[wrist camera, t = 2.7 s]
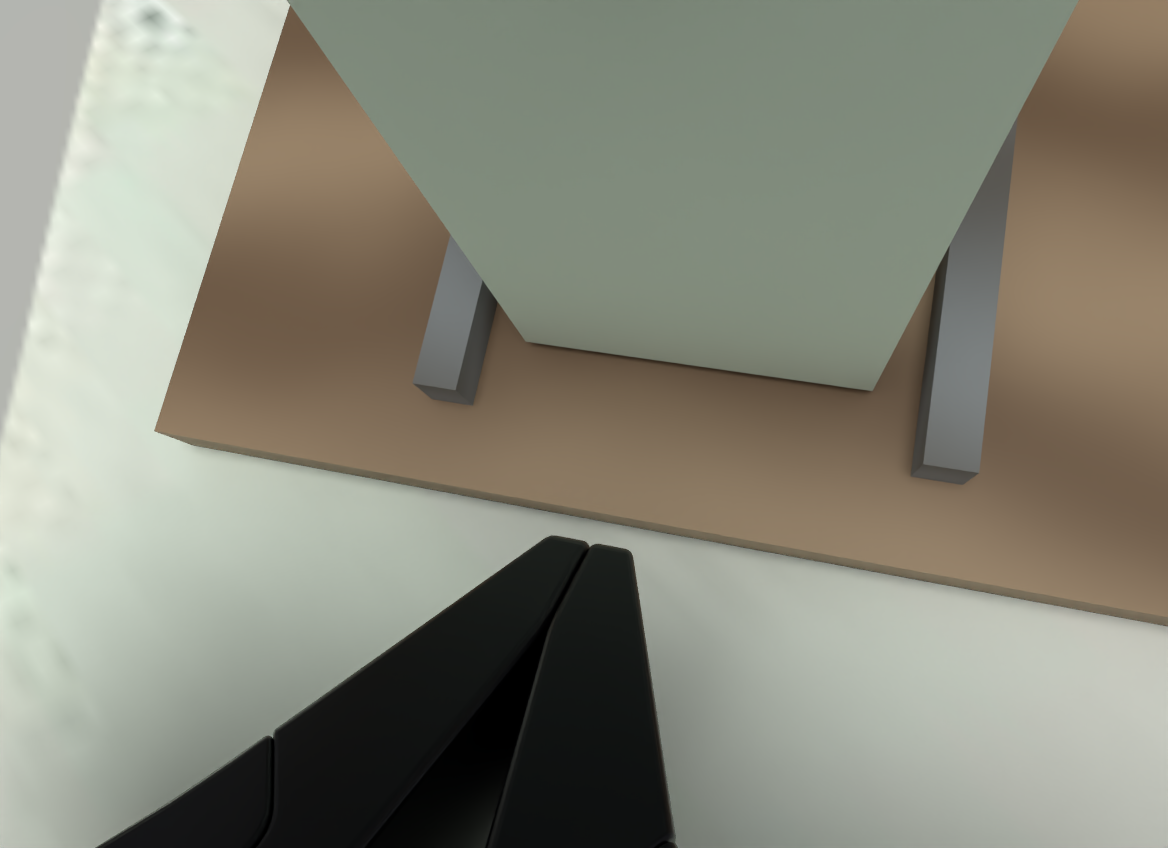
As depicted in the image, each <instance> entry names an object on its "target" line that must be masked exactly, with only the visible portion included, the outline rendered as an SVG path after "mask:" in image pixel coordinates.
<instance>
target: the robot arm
mask: <svg viewBox="0 0 1168 848" xmlns="http://www.w3.org/2000/svg"><path fill="white" fill-rule="evenodd" d="M96 848H678V847H677V845H676V844H675V830H674V823H673V817H672V810H671V804H670V797H669V790H668V784H667V777H666V771H665V764H664V758H663V751H662V744H661V738H660V731H659V725H658V718H657V711H656V705H655V698H654V692H653V685H652V679H651V672H650V665H649V659H648V652H647V646H646V639H645V633H644V626H643V619H642V613H641V606H640V600H639V593H638V587H637V580H636V573H635V567H634V560H633V555H632V553H631V552H630V551H629V550H627V549H623V548H618V547H612V546H607V545H602V544H594V545H592V546H591V547H589V545H588V544H587V543H586V542H585V541H581V540H576V539H571V538H565V537H560V536H549V537H546V538H545V539H543V540H542V541H540V542H539V543H538V544H536V545H535V546H533V547H532V548H531V549H529V550H528V551H526V552H525V553H523V554H522V555H521V556H519V557H518V558H516V559H515V560H514V561H512V562H511V563H509V564H508V565H507V566H505V567H504V568H502V569H501V570H499V571H498V572H497V573H495V574H494V575H492V576H491V577H490V578H488V579H487V580H485V581H484V582H483V583H481V584H480V585H478V586H477V587H476V588H474V589H473V590H471V591H470V592H468V593H467V594H466V595H464V596H463V597H461V598H460V599H459V600H457V601H456V602H454V603H453V604H452V605H450V606H449V607H447V608H446V609H445V610H443V611H442V612H440V613H439V614H437V615H436V616H435V617H433V618H432V619H430V620H429V621H428V622H426V623H425V624H423V625H422V626H421V627H419V628H418V629H416V630H415V631H413V632H412V633H411V634H409V635H408V636H406V637H405V638H404V639H402V640H401V641H399V642H398V643H397V644H395V645H394V646H392V647H391V648H390V649H388V650H387V651H385V652H384V653H382V654H381V655H380V656H378V657H377V658H375V659H374V660H373V661H371V662H370V663H368V664H367V665H366V666H364V667H363V668H361V669H360V670H358V671H357V672H356V673H354V674H353V675H351V676H350V677H349V678H347V679H346V680H344V681H343V682H342V683H340V684H339V685H337V686H336V687H335V688H333V689H332V690H330V691H329V692H327V693H326V694H325V695H323V696H322V697H320V698H319V699H318V700H316V701H315V702H313V703H312V704H311V705H309V706H308V707H306V708H305V709H304V710H302V711H301V712H299V713H298V714H296V715H295V716H294V717H292V718H291V719H289V720H288V721H287V722H285V723H284V724H282V725H281V726H280V727H278V728H277V729H276V730H275V731H274V733H273V738H272V737H270V736H265V737H263V738H262V739H261V740H259V741H258V742H256V743H255V744H254V745H252V746H251V747H249V748H248V749H247V750H245V751H244V752H242V753H241V754H239V755H238V756H237V757H235V758H234V759H232V760H231V761H230V762H228V763H227V764H225V765H224V766H222V767H221V768H219V769H218V770H216V771H215V772H213V773H212V774H210V775H209V776H207V777H206V778H204V779H203V780H202V781H200V782H199V783H197V784H196V785H194V786H193V787H191V788H190V789H188V790H187V791H185V792H184V793H182V794H181V795H179V796H178V797H176V798H175V799H173V800H172V801H170V802H169V803H167V804H166V805H164V806H162V807H161V808H159V809H158V810H156V811H154V812H153V813H151V814H149V815H148V816H146V817H145V818H143V819H141V820H140V821H138V822H136V823H135V824H133V825H132V826H130V827H128V828H127V829H125V830H124V831H122V832H120V833H119V834H117V835H115V836H114V837H112V838H111V839H109V840H107V841H106V842H104V843H102V844H101V845H99V846H98V847H96Z"/></svg>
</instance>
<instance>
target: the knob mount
mask: <svg viewBox="0 0 1168 848" xmlns="http://www.w3.org/2000/svg"><path fill="white" fill-rule="evenodd" d="M154 431H155V432H158V433H161V434H164V435H166V436H169V437H172V438H175V439H177V440H180V441H183V442H185V443H188V444H191V445H195V446H201V447H206V448H211V449H217V450H222V451H228V452H233V453H238V454H244V455H249V456H254V457H260V458H265V459H271V460H276V461H281V462H287V463H292V464H298V465H303V466H308V467H314V468H319V469H324V470H330V471H335V472H341V473H346V474H351V475H357V476H362V477H368V478H373V479H378V480H384V481H389V482H394V483H400V484H405V485H411V486H416V487H421V488H427V489H432V490H438V491H443V492H448V493H454V494H459V495H464V496H470V497H475V498H481V499H486V500H491V501H497V502H502V503H508V504H513V505H518V506H524V507H529V508H534V509H540V510H545V511H551V512H556V513H561V514H567V515H572V516H578V517H583V518H588V519H594V520H599V521H604V522H610V523H615V524H621V525H626V526H631V527H637V528H642V529H647V530H653V531H658V532H664V533H669V534H674V535H680V536H685V537H691V538H696V539H701V540H707V541H712V542H717V543H723V544H728V545H734V546H739V547H744V548H750V549H755V550H761V551H766V552H771V553H777V554H782V555H787V556H793V557H798V558H804V559H809V560H814V561H820V562H825V563H831V564H836V565H841V566H847V567H852V568H857V569H863V570H868V571H874V572H879V573H884V574H890V575H895V576H901V577H906V578H911V579H917V580H922V581H927V582H933V583H938V584H944V585H949V586H954V587H960V588H965V589H971V590H976V591H981V592H987V593H992V594H997V595H1003V596H1008V597H1014V598H1019V599H1024V600H1030V601H1035V602H1041V603H1046V604H1051V605H1057V606H1062V607H1067V608H1073V609H1078V610H1084V611H1089V612H1094V613H1100V614H1105V615H1111V616H1116V617H1121V618H1127V619H1132V620H1137V621H1143V622H1148V623H1154V624H1159V625H1164V626H1168V0H1079V1H1078V3H1077V4H1076V6H1075V8H1074V10H1073V12H1072V14H1071V16H1070V18H1069V20H1068V21H1067V23H1066V25H1065V27H1064V29H1063V31H1062V33H1061V35H1060V37H1059V39H1058V40H1057V42H1056V44H1055V46H1054V48H1053V50H1052V52H1051V54H1050V56H1049V57H1048V59H1047V61H1046V63H1045V65H1044V67H1043V69H1042V71H1041V73H1040V75H1039V76H1038V78H1037V80H1036V82H1035V84H1034V86H1033V88H1032V90H1031V92H1030V94H1029V95H1028V97H1027V99H1026V101H1025V103H1024V105H1023V107H1022V109H1021V111H1020V112H1019V114H1018V116H1017V118H1016V120H1015V122H1014V124H1013V126H1012V128H1011V130H1010V131H1009V133H1008V135H1007V137H1006V139H1005V141H1004V143H1003V145H1002V147H1001V148H1000V150H999V152H998V154H997V156H996V158H995V160H994V162H993V164H992V166H991V167H990V169H989V171H988V173H987V175H986V177H985V179H984V181H983V183H982V184H981V186H980V188H979V190H978V192H977V194H976V196H975V198H974V200H973V202H972V203H971V205H970V207H969V209H968V211H967V213H966V215H965V217H964V219H963V220H962V222H961V224H960V226H959V228H958V230H957V232H956V234H955V236H954V238H953V239H952V241H951V243H950V245H949V247H948V249H947V251H946V253H945V255H944V256H943V258H942V260H941V262H940V264H939V266H938V268H937V270H936V272H935V274H934V275H933V277H932V279H931V281H930V283H929V285H928V287H927V289H926V291H925V292H924V294H923V296H922V298H921V300H920V302H919V304H918V306H917V308H916V310H915V311H914V313H913V315H912V317H911V319H910V321H909V323H908V325H907V327H906V328H905V330H904V332H903V334H902V336H901V338H900V340H899V342H898V344H897V346H896V347H895V349H894V351H893V353H892V355H891V357H890V359H889V361H888V363H887V364H886V366H885V368H884V370H883V372H882V374H881V376H880V378H879V380H878V382H877V383H876V385H875V387H874V389H873V391H868V390H861V389H854V388H847V387H840V386H833V385H826V384H819V383H812V382H805V381H798V380H791V379H784V378H777V377H770V376H763V375H756V374H749V373H742V372H735V371H728V370H721V369H714V368H707V367H700V366H693V365H686V364H679V363H672V362H665V361H658V360H651V359H644V358H637V357H630V356H623V355H616V354H609V353H602V352H595V351H588V350H581V349H574V348H567V347H560V346H553V345H546V344H539V343H532V342H526V341H525V340H524V339H523V337H522V336H521V334H520V333H519V331H518V330H517V329H516V327H515V326H514V324H513V323H512V321H511V320H510V319H509V317H508V316H507V314H506V313H505V311H504V310H503V308H502V307H501V306H500V304H499V303H498V301H497V300H496V298H495V297H494V296H493V294H492V293H491V291H490V290H489V288H488V287H487V286H486V284H485V283H484V281H483V280H482V278H481V277H480V276H479V274H478V273H477V271H476V270H475V268H474V267H473V266H472V264H471V263H470V261H469V260H468V258H467V257H466V256H465V254H464V253H463V251H462V250H461V248H460V247H459V246H458V244H457V243H456V241H455V240H454V238H453V237H452V236H451V234H450V233H449V231H448V230H447V228H446V227H445V226H444V224H443V223H442V221H441V220H440V218H439V217H438V216H437V214H436V213H435V211H434V210H433V208H432V207H431V206H430V204H429V203H428V201H427V200H426V198H425V197H424V196H423V194H422V193H421V191H420V190H419V188H418V187H417V185H416V184H415V183H414V181H413V180H412V178H411V177H410V175H409V174H408V173H407V171H406V170H405V168H404V167H403V165H402V164H401V163H400V161H399V160H398V158H397V157H396V155H395V154H394V153H393V151H392V150H391V148H390V147H389V145H388V144H387V143H386V141H385V140H384V138H383V137H382V135H381V134H380V133H379V131H378V130H377V128H376V127H375V125H374V124H373V123H372V121H371V120H370V118H369V117H368V115H367V114H366V113H365V111H364V110H363V108H362V107H361V105H360V104H359V103H358V101H357V100H356V98H355V97H354V95H353V94H352V93H351V91H350V90H349V88H348V87H347V85H346V84H345V83H344V81H343V80H342V78H341V77H340V75H339V74H338V72H337V71H336V70H335V68H334V67H333V65H332V64H331V62H330V61H329V60H328V58H327V57H326V55H325V54H324V52H323V51H322V50H321V48H320V47H319V45H318V44H317V42H316V41H315V40H314V38H313V37H312V35H311V34H310V32H309V31H308V30H307V28H306V27H305V25H304V24H303V22H302V21H301V20H300V18H299V17H298V15H297V14H296V12H295V11H294V10H293V8H292V7H291V5H290V8H289V11H288V14H287V17H286V20H285V23H284V26H283V29H282V33H281V36H280V39H279V42H278V45H277V48H276V51H275V55H274V58H273V61H272V64H271V67H270V70H269V73H268V76H267V80H266V83H265V86H264V89H263V92H262V95H261V98H260V101H259V105H258V108H257V111H256V114H255V117H254V120H253V123H252V127H251V130H250V133H249V136H248V139H247V142H246V145H245V148H244V152H243V155H242V158H241V161H240V164H239V167H238V170H237V174H236V177H235V180H234V183H233V186H232V189H231V192H230V195H229V199H228V202H227V205H226V208H225V211H224V214H223V217H222V221H221V224H220V227H219V230H218V233H217V236H216V239H215V242H214V246H213V249H212V252H211V255H210V258H209V261H208V264H207V268H206V271H205V274H204V277H203V280H202V283H201V286H200V289H199V293H198V296H197V299H196V302H195V305H194V308H193V311H192V315H191V318H190V321H189V324H188V327H187V330H186V333H185V336H184V340H183V343H182V346H181V349H180V352H179V355H178V358H177V362H176V365H175V368H174V371H173V374H172V377H171V380H170V383H169V387H168V390H167V393H166V396H165V399H164V402H163V405H162V409H161V412H160V415H159V418H158V421H157V424H156V427H155V430H154Z"/></svg>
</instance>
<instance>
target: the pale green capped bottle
mask: <svg viewBox="0 0 1168 848" xmlns="http://www.w3.org/2000/svg"><path fill="white" fill-rule="evenodd" d="M287 1H288V2H289V4H290V5H291V7H292V8H293V10H294V11H295V12H296V14H297V15H298V17H299V18H300V20H301V21H302V22H303V24H304V25H305V27H306V28H307V30H308V31H309V32H310V34H311V35H312V37H313V38H314V40H315V41H316V42H317V44H318V45H319V47H320V48H321V50H322V51H323V52H324V54H325V55H326V57H327V58H328V60H329V61H330V62H331V64H332V65H333V67H334V68H335V70H336V71H337V72H338V74H339V75H340V77H341V78H342V80H343V81H344V83H345V84H346V85H347V87H348V88H349V90H350V91H351V93H352V94H353V95H354V97H355V98H356V100H357V101H358V103H359V104H360V105H361V107H362V108H363V110H364V111H365V113H366V114H367V115H368V117H369V118H370V120H371V121H372V123H373V124H374V125H375V127H376V128H377V130H378V131H379V133H380V134H381V135H382V137H383V138H384V140H385V141H386V143H387V144H388V145H389V147H390V148H391V150H392V151H393V153H394V154H395V155H396V157H397V158H398V160H399V161H400V163H401V164H402V165H403V167H404V168H405V170H406V171H407V173H408V174H409V175H410V177H411V178H412V180H413V181H414V183H415V184H416V185H417V187H418V188H419V190H420V191H421V193H422V194H423V196H424V197H425V198H426V200H427V201H428V203H429V204H430V206H431V207H432V208H433V210H434V211H435V213H436V214H437V216H438V217H439V218H440V220H441V221H442V223H443V224H444V226H445V227H446V228H447V230H448V231H449V233H450V234H451V236H452V237H453V238H454V240H455V241H456V243H457V244H458V246H459V247H460V248H461V250H462V251H463V253H464V254H465V256H466V257H467V258H468V260H469V261H470V263H471V264H472V266H473V267H474V268H475V270H476V271H477V273H478V274H479V276H480V277H481V278H482V280H483V281H484V283H485V284H486V286H487V287H488V288H489V290H490V291H491V293H492V294H493V296H494V297H495V298H496V300H497V301H498V303H499V304H500V306H501V307H502V308H503V310H504V311H505V313H506V314H507V316H508V317H509V319H510V320H511V321H512V323H513V324H514V326H515V327H516V329H517V330H518V331H519V333H520V334H521V336H522V337H523V339H524V340H525V341H526V342H532V343H539V344H546V345H553V346H560V347H567V348H574V349H581V350H588V351H595V352H602V353H609V354H616V355H623V356H630V357H637V358H644V359H651V360H658V361H665V362H672V363H679V364H686V365H693V366H700V367H707V368H714V369H721V370H728V371H735V372H742V373H749V374H756V375H763V376H770V377H777V378H784V379H791V380H798V381H805V382H812V383H819V384H826V385H833V386H840V387H847V388H854V389H861V390H868V391H873V389H874V387H875V385H876V383H877V382H878V380H879V378H880V376H881V374H882V372H883V370H884V368H885V366H886V364H887V363H888V361H889V359H890V357H891V355H892V353H893V351H894V349H895V347H896V346H897V344H898V342H899V340H900V338H901V336H902V334H903V332H904V330H905V328H906V327H907V325H908V323H909V321H910V319H911V317H912V315H913V313H914V311H915V310H916V308H917V306H918V304H919V302H920V300H921V298H922V296H923V294H924V292H925V291H926V289H927V287H928V285H929V283H930V281H931V279H932V277H933V275H934V274H935V272H936V270H937V268H938V266H939V264H940V262H941V260H942V258H943V256H944V255H945V253H946V251H947V249H948V247H949V245H950V243H951V241H952V239H953V238H954V236H955V234H956V232H957V230H958V228H959V226H960V224H961V222H962V220H963V219H964V217H965V215H966V213H967V211H968V209H969V207H970V205H971V203H972V202H973V200H974V198H975V196H976V194H977V192H978V190H979V188H980V186H981V184H982V183H983V181H984V179H985V177H986V175H987V173H988V171H989V169H990V167H991V166H992V164H993V162H994V160H995V158H996V156H997V154H998V152H999V150H1000V148H1001V147H1002V145H1003V143H1004V141H1005V139H1006V137H1007V135H1008V133H1009V131H1010V130H1011V128H1012V126H1013V124H1014V122H1015V120H1016V118H1017V116H1018V114H1019V112H1020V111H1021V109H1022V107H1023V105H1024V103H1025V101H1026V99H1027V97H1028V95H1029V94H1030V92H1031V90H1032V88H1033V86H1034V84H1035V82H1036V80H1037V78H1038V76H1039V75H1040V73H1041V71H1042V69H1043V67H1044V65H1045V63H1046V61H1047V59H1048V57H1049V56H1050V54H1051V52H1052V50H1053V48H1054V46H1055V44H1056V42H1057V40H1058V39H1059V37H1060V35H1061V33H1062V31H1063V29H1064V27H1065V25H1066V23H1067V21H1068V20H1069V18H1070V16H1071V14H1072V12H1073V10H1074V8H1075V6H1076V4H1077V3H1078V1H1079V0H287Z"/></svg>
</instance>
